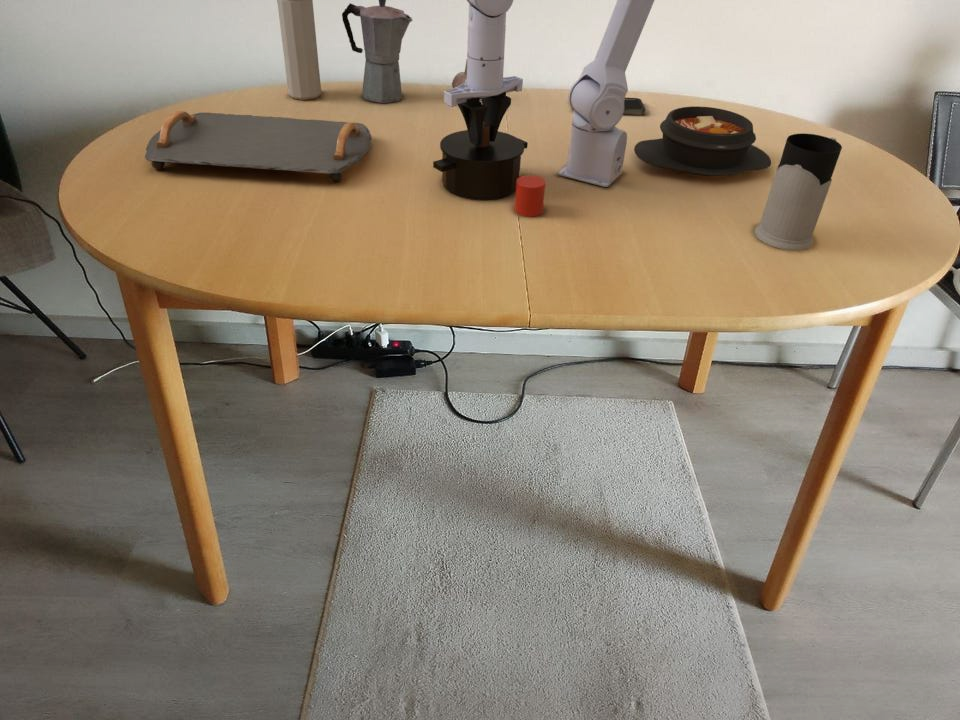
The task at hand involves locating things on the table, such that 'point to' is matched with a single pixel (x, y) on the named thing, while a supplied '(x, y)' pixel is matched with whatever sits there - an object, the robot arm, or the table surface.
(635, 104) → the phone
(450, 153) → the cooker lid
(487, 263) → the table surface
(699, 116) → the casserole
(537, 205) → the tin
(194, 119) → the serving tray
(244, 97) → the table surface
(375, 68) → the moka pot
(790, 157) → the glass holder
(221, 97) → the table surface
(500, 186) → the cooker
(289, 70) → the water bottle
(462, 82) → the garlic bulb
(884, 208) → the table surface
